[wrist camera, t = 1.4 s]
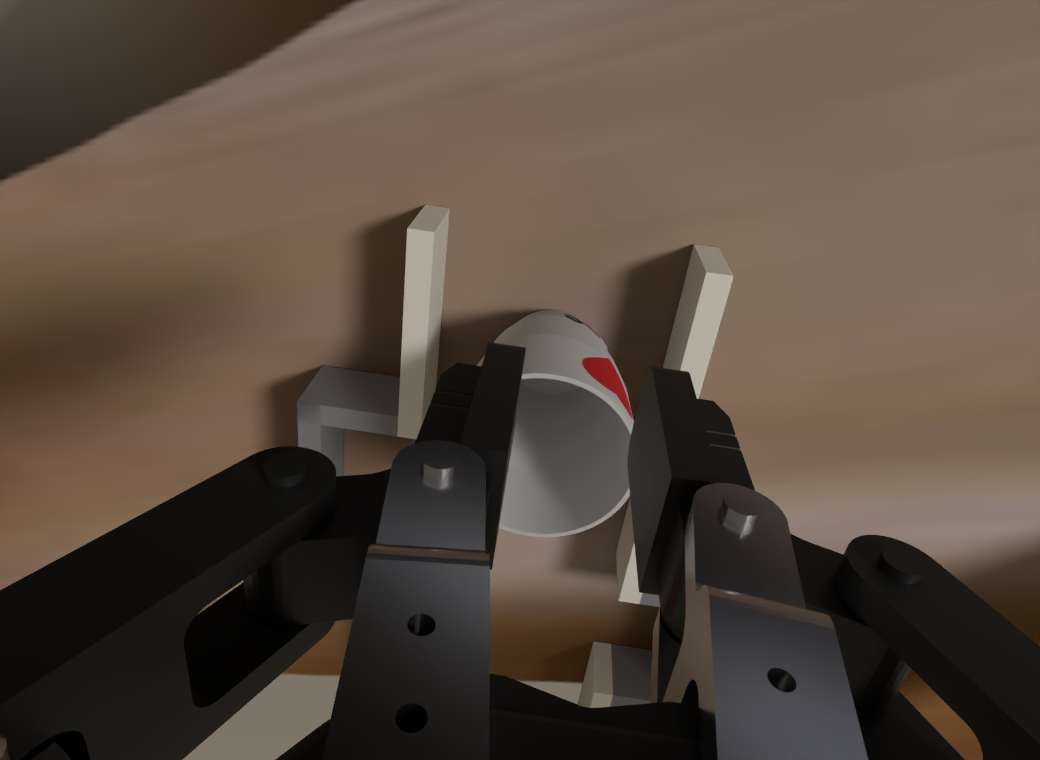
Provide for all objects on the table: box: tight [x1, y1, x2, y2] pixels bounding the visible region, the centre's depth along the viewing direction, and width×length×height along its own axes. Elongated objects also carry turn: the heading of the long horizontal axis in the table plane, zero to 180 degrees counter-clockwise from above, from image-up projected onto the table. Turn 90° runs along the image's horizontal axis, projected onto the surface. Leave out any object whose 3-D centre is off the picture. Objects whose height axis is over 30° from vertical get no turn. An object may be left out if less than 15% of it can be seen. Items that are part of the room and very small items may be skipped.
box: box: [297, 205, 734, 708], centre depth 42 cm, size 25×39×4 cm, turn 173°
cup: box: [477, 310, 634, 537], centre depth 33 cm, size 8×8×10 cm
